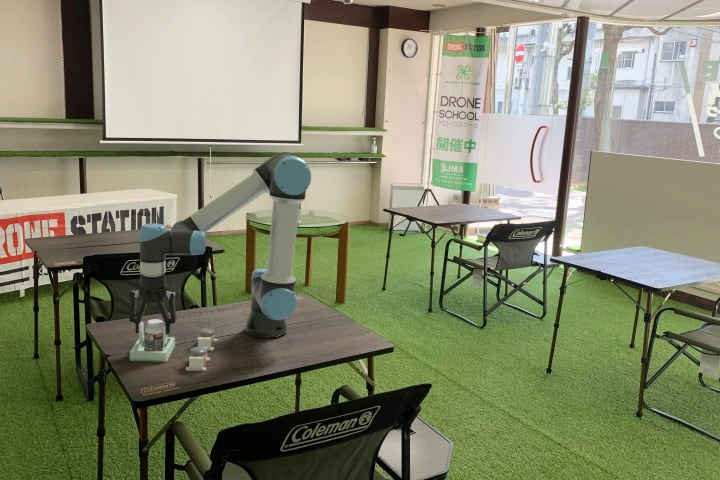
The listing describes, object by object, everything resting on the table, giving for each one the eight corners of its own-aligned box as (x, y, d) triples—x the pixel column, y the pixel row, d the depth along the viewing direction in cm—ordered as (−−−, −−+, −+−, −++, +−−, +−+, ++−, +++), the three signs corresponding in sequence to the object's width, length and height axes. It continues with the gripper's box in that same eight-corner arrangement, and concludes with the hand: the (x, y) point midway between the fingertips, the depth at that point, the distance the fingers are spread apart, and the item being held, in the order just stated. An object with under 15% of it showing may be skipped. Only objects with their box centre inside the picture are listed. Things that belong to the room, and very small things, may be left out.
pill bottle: (157, 355, 197) (158, 326, 195) (140, 352, 198) (142, 322, 196) (166, 349, 203) (167, 320, 201) (150, 346, 204) (151, 317, 202)
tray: (174, 345, 208) (174, 337, 207) (166, 361, 195) (166, 352, 194) (140, 344, 207) (140, 336, 206) (129, 360, 194) (129, 351, 193)
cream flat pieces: (217, 340, 214) (217, 329, 213) (205, 370, 191) (206, 358, 190) (199, 340, 214) (199, 329, 213) (185, 370, 190) (185, 358, 189)
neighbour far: (215, 342, 213) (215, 328, 212) (213, 348, 208) (213, 334, 207) (199, 342, 212) (199, 328, 211) (197, 348, 207) (197, 333, 206)
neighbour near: (207, 361, 197) (208, 347, 196) (205, 368, 192) (205, 353, 191) (191, 361, 197) (191, 346, 196) (188, 368, 192) (188, 353, 191)
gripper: (187, 271, 200) (186, 339, 205) (123, 268, 198) (124, 337, 203) (182, 278, 192) (182, 348, 197) (116, 275, 190) (118, 346, 195)
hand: (153, 342), depth 200 cm, fingers open, 7 cm apart
